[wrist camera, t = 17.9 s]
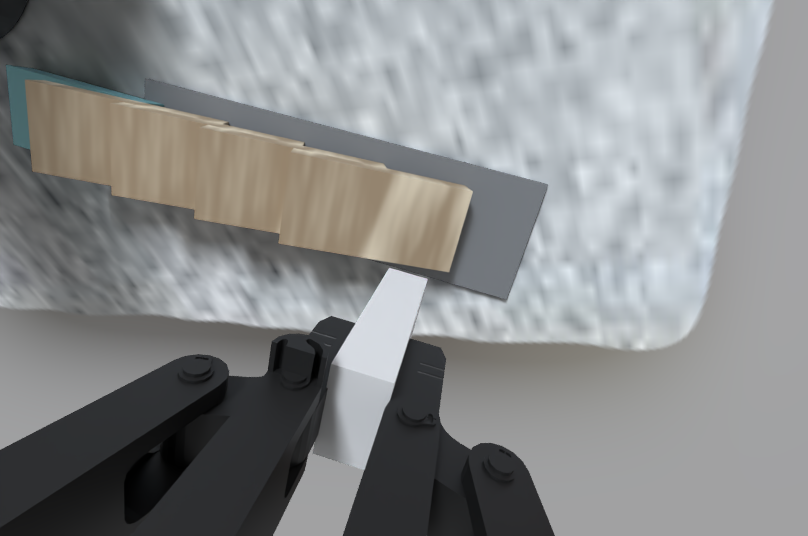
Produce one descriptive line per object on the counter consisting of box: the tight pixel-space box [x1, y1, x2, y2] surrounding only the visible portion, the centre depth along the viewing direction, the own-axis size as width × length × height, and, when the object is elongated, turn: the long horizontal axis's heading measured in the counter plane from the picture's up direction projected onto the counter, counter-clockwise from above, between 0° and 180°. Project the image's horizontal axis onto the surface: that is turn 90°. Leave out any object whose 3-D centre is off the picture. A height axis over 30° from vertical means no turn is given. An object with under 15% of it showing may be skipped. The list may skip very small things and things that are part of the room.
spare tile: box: [6, 65, 164, 149], centre depth 33 cm, size 2×6×12 cm
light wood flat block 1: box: [25, 80, 229, 186], centre depth 30 cm, size 2×6×12 cm
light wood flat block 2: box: [194, 125, 386, 234], centre depth 29 cm, size 2×6×12 cm
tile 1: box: [278, 148, 473, 272], centre depth 29 cm, size 2×6×12 cm
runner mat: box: [145, 79, 548, 300], centre depth 32 cm, size 31×9×1 cm, turn 77°
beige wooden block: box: [110, 102, 305, 210], centre depth 30 cm, size 2×6×12 cm
